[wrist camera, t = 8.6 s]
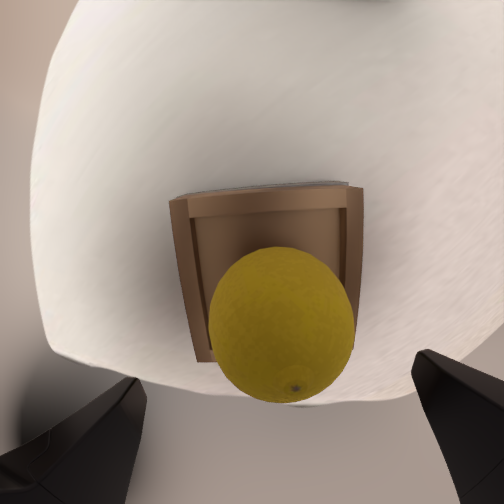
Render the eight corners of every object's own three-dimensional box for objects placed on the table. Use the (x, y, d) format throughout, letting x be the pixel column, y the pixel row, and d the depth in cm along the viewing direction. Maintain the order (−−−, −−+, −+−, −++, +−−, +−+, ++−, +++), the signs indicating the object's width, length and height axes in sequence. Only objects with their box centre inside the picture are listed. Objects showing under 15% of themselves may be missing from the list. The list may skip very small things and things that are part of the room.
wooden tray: (343, 185, 15) (363, 188, 12) (339, 324, 17) (353, 349, 15) (183, 195, 15) (168, 201, 12) (204, 334, 18) (197, 362, 15)
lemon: (340, 261, 14) (421, 344, 6) (286, 339, 15) (312, 452, 8) (250, 209, 13) (259, 257, 6) (200, 299, 14) (166, 410, 7)
